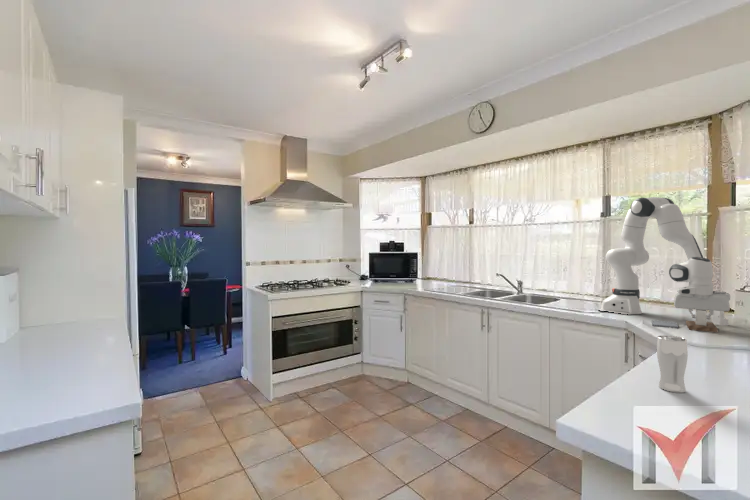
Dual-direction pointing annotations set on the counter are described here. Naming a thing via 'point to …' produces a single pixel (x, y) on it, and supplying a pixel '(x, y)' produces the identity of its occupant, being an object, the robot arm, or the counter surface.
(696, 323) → the plug
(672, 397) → the counter surface
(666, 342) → the beer glass
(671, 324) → the slate pad
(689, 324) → the header collar
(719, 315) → the white wedge bracket
